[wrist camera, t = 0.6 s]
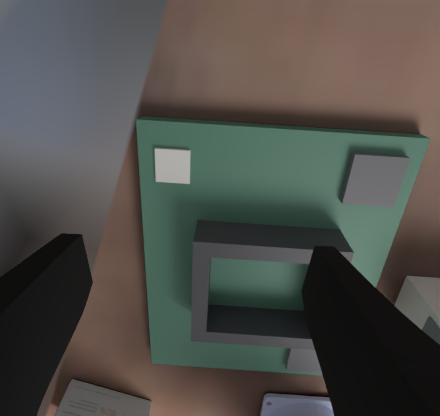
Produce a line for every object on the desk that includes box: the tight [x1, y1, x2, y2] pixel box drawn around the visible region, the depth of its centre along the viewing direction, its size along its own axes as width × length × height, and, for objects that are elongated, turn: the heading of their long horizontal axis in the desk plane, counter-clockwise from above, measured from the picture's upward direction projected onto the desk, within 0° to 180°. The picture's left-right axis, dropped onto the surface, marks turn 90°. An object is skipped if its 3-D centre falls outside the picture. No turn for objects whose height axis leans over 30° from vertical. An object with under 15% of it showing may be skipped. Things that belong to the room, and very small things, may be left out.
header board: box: [136, 116, 430, 376], centre depth 21 cm, size 20×16×4 cm
